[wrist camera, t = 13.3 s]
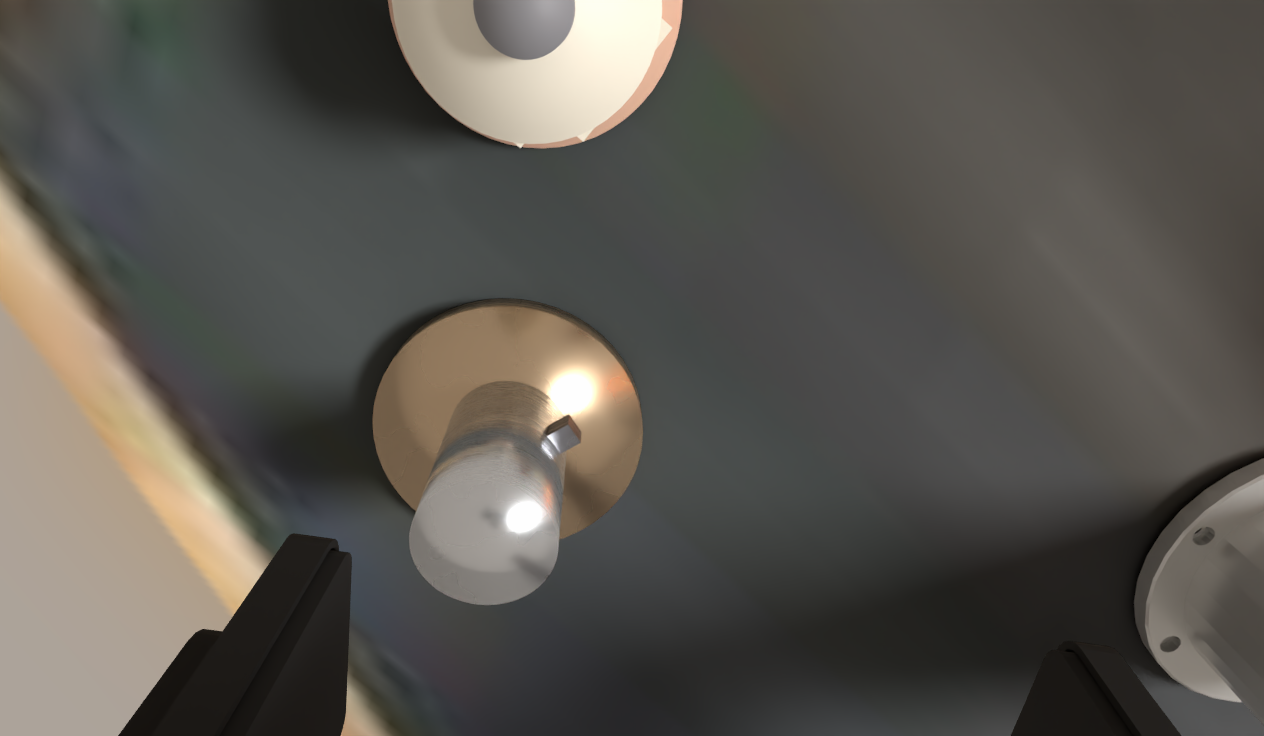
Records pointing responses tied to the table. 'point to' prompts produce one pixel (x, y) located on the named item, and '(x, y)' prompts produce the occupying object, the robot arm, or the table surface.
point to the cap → (530, 61)
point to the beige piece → (504, 441)
